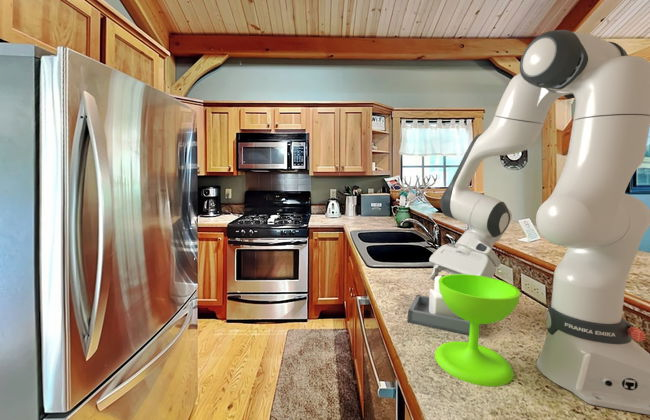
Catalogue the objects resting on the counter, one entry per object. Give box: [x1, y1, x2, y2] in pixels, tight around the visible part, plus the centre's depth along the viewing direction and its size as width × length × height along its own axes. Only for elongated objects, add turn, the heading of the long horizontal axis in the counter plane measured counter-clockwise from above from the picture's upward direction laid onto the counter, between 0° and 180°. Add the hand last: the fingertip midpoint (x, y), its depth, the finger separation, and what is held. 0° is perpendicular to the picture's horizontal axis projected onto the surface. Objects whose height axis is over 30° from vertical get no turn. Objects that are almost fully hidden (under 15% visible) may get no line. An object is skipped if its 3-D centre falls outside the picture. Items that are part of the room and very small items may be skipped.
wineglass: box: [434, 274, 521, 387], centre depth 68 cm, size 16×16×18 cm
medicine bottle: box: [428, 274, 460, 319], centre depth 89 cm, size 7×7×12 cm
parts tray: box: [407, 294, 470, 336], centre depth 90 cm, size 18×14×4 cm
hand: (443, 284), depth 89 cm, fingers open, 8 cm apart
